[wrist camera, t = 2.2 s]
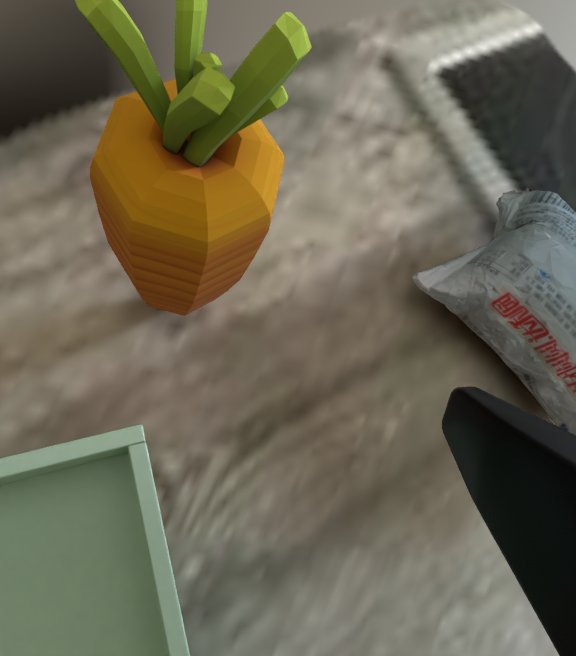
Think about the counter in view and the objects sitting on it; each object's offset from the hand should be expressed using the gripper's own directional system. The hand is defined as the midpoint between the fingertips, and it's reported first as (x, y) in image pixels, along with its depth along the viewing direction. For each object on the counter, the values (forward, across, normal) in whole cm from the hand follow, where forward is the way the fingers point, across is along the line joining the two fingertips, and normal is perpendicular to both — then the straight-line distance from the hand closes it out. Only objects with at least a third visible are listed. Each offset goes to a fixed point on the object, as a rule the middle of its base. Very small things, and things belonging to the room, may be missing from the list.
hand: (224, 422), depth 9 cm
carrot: (+14, 0, +4) cm, 15 cm away
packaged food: (+12, -18, +6) cm, 22 cm away
